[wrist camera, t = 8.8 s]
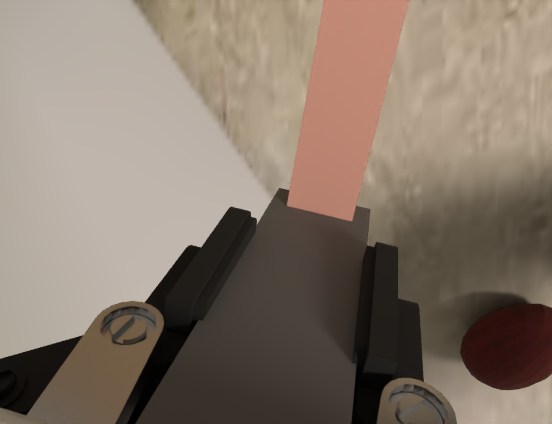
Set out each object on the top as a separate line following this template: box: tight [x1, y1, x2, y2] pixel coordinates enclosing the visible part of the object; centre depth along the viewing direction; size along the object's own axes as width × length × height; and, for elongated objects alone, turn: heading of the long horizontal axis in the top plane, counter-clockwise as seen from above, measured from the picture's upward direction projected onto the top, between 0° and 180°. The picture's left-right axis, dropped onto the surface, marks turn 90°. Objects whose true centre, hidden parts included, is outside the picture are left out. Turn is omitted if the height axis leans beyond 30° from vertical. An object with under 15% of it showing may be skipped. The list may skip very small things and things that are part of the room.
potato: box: [461, 304, 552, 390], centre depth 38 cm, size 8×9×6 cm
